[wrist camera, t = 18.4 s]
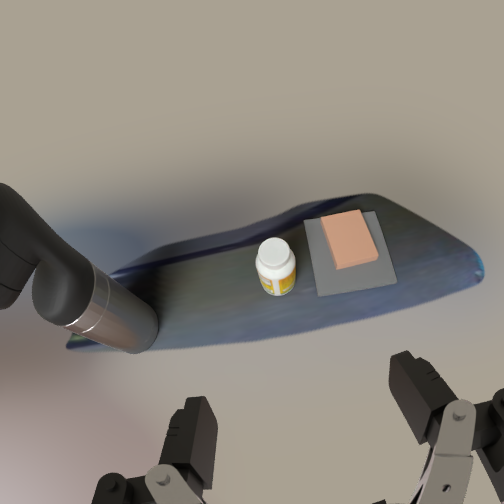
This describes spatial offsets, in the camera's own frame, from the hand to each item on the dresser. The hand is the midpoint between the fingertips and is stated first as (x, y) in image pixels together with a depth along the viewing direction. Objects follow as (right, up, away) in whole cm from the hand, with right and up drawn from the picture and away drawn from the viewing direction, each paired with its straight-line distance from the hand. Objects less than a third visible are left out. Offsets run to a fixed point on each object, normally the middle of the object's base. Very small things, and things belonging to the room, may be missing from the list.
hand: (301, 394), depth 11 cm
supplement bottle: (+2, +1, +34) cm, 34 cm away
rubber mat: (+14, +6, +34) cm, 37 cm away
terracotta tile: (+14, +4, +31) cm, 34 cm away
